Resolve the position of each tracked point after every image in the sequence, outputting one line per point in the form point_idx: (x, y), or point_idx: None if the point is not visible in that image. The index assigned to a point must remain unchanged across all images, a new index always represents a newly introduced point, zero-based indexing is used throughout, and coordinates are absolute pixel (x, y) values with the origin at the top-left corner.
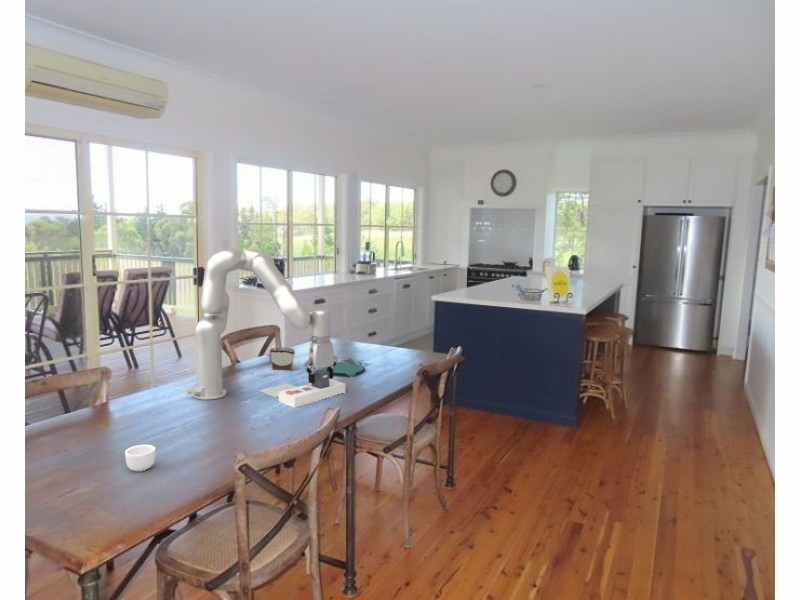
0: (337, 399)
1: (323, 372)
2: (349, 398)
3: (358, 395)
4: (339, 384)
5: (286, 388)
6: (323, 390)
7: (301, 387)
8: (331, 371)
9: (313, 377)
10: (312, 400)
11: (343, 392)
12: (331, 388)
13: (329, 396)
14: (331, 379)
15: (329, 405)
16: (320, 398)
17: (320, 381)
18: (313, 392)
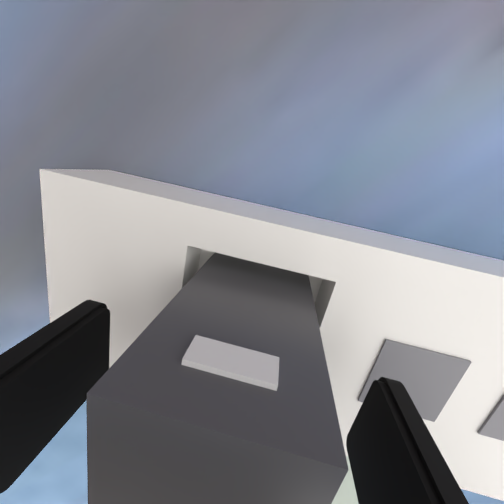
0: (264, 122)
1: (223, 462)
2: (181, 44)
3: (72, 29)
4: (97, 206)
5: None
6: (343, 239)
7: None
8: (10, 381)
9: (449, 477)
10: (452, 251)
11: (120, 173)
12: (232, 211)
13: (265, 207)
14: None
15: (448, 71)
16: (361, 230)
17: (318, 345)
18: (492, 276)
